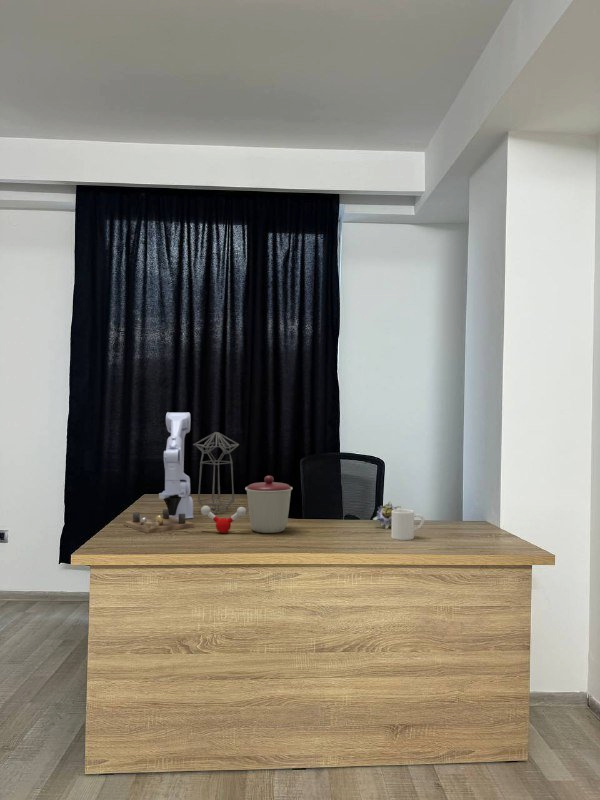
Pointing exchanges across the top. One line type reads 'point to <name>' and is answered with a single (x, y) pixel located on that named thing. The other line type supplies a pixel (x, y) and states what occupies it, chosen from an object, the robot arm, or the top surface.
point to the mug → (404, 524)
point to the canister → (268, 505)
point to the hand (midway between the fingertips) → (172, 515)
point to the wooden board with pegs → (168, 523)
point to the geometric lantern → (219, 436)
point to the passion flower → (385, 514)
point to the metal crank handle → (158, 519)
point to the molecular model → (223, 523)
